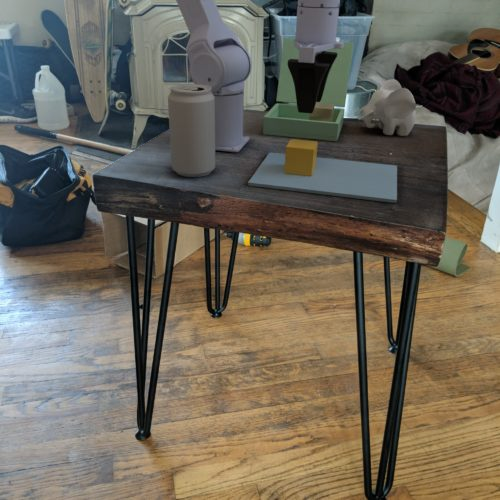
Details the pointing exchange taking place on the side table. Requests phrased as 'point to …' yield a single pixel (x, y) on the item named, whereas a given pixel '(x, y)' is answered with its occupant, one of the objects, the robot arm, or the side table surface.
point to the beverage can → (192, 129)
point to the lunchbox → (301, 123)
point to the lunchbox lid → (335, 80)
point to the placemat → (331, 178)
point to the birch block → (322, 112)
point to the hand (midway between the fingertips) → (309, 106)
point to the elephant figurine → (391, 109)
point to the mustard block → (300, 157)
